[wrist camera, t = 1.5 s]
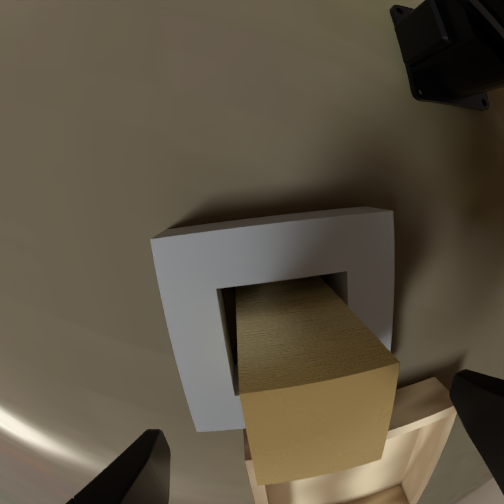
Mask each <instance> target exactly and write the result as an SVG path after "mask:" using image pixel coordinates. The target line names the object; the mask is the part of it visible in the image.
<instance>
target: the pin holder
mask: <svg viewBox="0 0 504 504" xmlns="http://www.w3.org/2000/svg"><path fill="white" fill-rule="evenodd" d="M150 240H151V246H152V252H153V258H154V263H155V269H156V274H157V279H158V284H159V289H160V294H161V299H162V304H163V308H164V313H165V317H166V322H167V326H168V330H169V335H170V339H171V343H172V347H173V351H174V355H175V359H176V362H177V366H178V370H179V374H180V377H181V381H182V384H183V388H184V391H185V395H186V398H187V402H188V405H189V408H190V412H191V415H192V418H193V421H194V424H195V427H196V431H197V432H205V431H221V430H233V429H244V428H246V427H245V422H244V416H243V411H242V406H241V400H240V395H239V375H238V363H234V360H233V354H232V348H231V342H230V336H229V330H228V324H227V317H226V311H225V305H224V298H223V291H222V288H227V287H235V286H243V285H251V284H259V283H266V282H274V281H281V280H289V279H296V278H303V277H310V276H317V275H324V274H328V286H329V287H330V288H331V289H332V290H333V291H334V292H335V293H336V294H337V295H338V296H339V297H340V298H341V299H342V300H343V301H344V303H345V304H346V305H347V306H348V307H349V308H350V309H351V310H352V311H353V312H354V313H355V314H356V315H357V316H358V317H359V318H360V320H361V321H362V322H363V323H364V324H365V325H366V326H367V327H368V328H369V329H370V330H371V331H372V332H373V333H374V335H375V336H376V337H377V338H378V339H379V340H380V341H381V342H382V343H383V344H384V345H385V346H386V348H387V349H388V350H389V351H390V350H391V338H392V325H393V308H394V278H395V246H394V216H393V211H391V210H385V209H379V208H373V207H367V206H362V207H352V208H341V209H331V210H321V211H311V212H302V213H292V214H283V215H274V216H266V217H257V218H249V219H241V220H233V221H225V222H217V223H209V224H202V225H194V226H187V227H180V228H172V229H166V230H164V231H163V232H161V233H160V234H158V235H156V236H155V237H153V238H152V239H150Z"/></svg>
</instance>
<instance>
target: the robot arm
mask: <svg viewBox="0 0 504 504" xmlns="http://www.w3.org/2000/svg"><path fill="white" fill-rule="evenodd" d="M397 11H398V12H399V13H400V14H399V13H398V12H397ZM390 14H391V17H392V20H393V23H394V26H395V32H396V35H397V38H398V42H399V45H400V49H401V53H402V57H403V61H404V63H405V66H406V70H407V74H408V79H409V83H410V88H411V92H412V95H413V97H414V98H415V99H416V100H419V101H425V102H432V103H440V104H446V105H453V106H459V107H465V108H470V109H475V110H480V111H484V110H488V108H489V103H488V98H487V93H486V92H487V91H491V90H495V89H498V88H502V87H504V0H425V1H424V2H422V3H421V4H420V5H419V6H418V7H417V8H415V9H412V8H408V7H404V6H400V5H394V6H392V7H391V8H390ZM418 89H419V90H420V91H421V93H422V95H421V94H420V93H419V91H418ZM482 103H483V104H482ZM449 396H450V400H451V402H452V404H453V406H454V408H455V410H456V412H457V414H458V416H459V418H460V420H461V422H462V424H463V426H464V428H465V430H466V432H467V434H468V435H469V437H470V439H471V440H472V442H473V443H474V445H475V447H476V448H477V450H478V452H479V453H480V455H481V456H482V458H483V460H484V462H485V463H486V465H487V467H488V468H489V470H490V472H491V474H492V475H493V477H494V479H495V481H496V482H497V484H498V486H499V487H500V489H501V491H502V493H503V495H504V380H502V379H499V378H495V377H492V376H488V375H485V374H481V373H478V372H474V371H471V370H467V369H464V370H461V371H459V372H457V373H455V375H454V377H453V381H452V385H451V388H450V392H449ZM170 456H171V454H170V448H169V445H168V443H167V441H166V438H165V436H164V433H163V432H162V430H160V429H148V430H146V431H145V432H144V433H143V434H142V435H141V436H140V437H139V438H138V439H137V440H135V441H134V442H133V443H132V444H131V445H130V446H129V447H128V448H127V449H126V450H125V451H124V452H123V453H122V454H121V455H120V456H118V457H117V458H116V459H115V460H114V461H113V462H112V463H111V464H110V465H109V466H108V467H107V468H105V469H104V470H103V471H102V472H101V473H100V474H99V475H98V476H97V477H95V478H94V479H93V480H92V481H91V482H90V483H89V484H88V485H86V486H85V487H84V488H83V489H82V490H81V491H80V492H78V493H77V494H76V495H75V496H74V498H71V499H70V500H69V501H68V502H67V503H66V504H168V502H169V490H170Z"/></svg>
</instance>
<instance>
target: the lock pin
mask: <svg viewBox="0 0 504 504" xmlns="http://www.w3.org/2000/svg"><path fill="white" fill-rule="evenodd" d="M235 289H236V321H237V350H238V375H239V395H240V400H241V406H242V411H243V416H244V422H245V427H246V432H247V437H248V442H249V447H250V452H251V457H252V462H253V467H254V472H255V477H256V481H257V486H260V485H268V484H276V483H283V482H289V481H295V480H301V479H306V478H312V477H316V476H321V475H326V474H330V473H334V472H339V471H343V470H346V469H350V468H354V467H357V466H361V465H364V464H368V463H371V462H374V461H378V460H381V458H382V454H383V450H384V446H385V442H386V438H387V434H388V429H389V424H390V420H391V415H392V409H393V404H394V398H395V393H396V387H397V380H398V373H399V366H400V362H399V361H398V360H397V359H396V357H395V356H394V355H393V354H392V353H391V352H390V351H389V350H388V349H387V348H386V346H385V345H384V344H383V343H382V342H381V341H380V340H379V339H378V338H377V337H376V336H375V335H374V333H373V332H372V331H371V330H370V329H369V328H368V327H367V326H366V325H365V324H364V323H363V322H362V321H361V320H360V318H359V317H358V316H357V315H356V314H355V313H354V312H353V311H352V310H351V309H350V308H349V307H348V306H347V305H346V304H345V303H344V301H343V300H342V299H341V298H340V297H339V296H338V295H337V294H336V293H335V292H334V291H333V290H332V289H331V288H330V287H329V286H328V285H327V284H326V283H325V282H324V281H323V279H322V278H321V277H320V276H319V275H317V276H310V277H303V278H296V279H289V280H281V281H274V282H266V283H259V284H251V285H243V286H235Z"/></svg>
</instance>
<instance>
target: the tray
mask: <svg viewBox="0 0 504 504" xmlns="http://www.w3.org/2000/svg"><path fill="white" fill-rule="evenodd" d="M456 414H457V412H456V410H455V408H454V406H453V404H452V402H451V400H450V396H449V391H448V390H447V389H446V388H445V387H444V386H443V385H442V384H441V383H440V382H439V381H438V379H437V378H436V377H432V378H429V379H426V380H424V381H421V382H418V383H415V384H412V385H409V386H406V387H403V388H399V389H396V393H395V398H394V404H393V409H392V415H391V420H390V424H389V429H388V434H387V438H386V442H385V446H384V450H383V454H382V458H381V460H378V461H374V462H371V463H368V464H364V465H361V466H357V467H354V468H350V469H346V470H343V471H339V472H334V473H330V474H326V475H321V476H316V477H312V478H306V479H301V480H295V481H289V482H283V483H276V484H268V485H260V486H257V481H256V477H255V472H254V467H253V462H252V457H251V452H250V447H249V442H248V437H247V432H246V428H244V429H243V432H244V449H245V462H246V466H247V470H248V475H249V479H250V483H251V487H252V491H253V495H254V499H255V503H256V504H416V503H417V502H418V500H419V498H420V496H421V494H422V492H423V490H424V489H425V487H426V485H427V483H428V481H429V479H430V477H431V475H432V473H433V470H434V468H435V466H436V464H437V462H438V460H439V457H440V455H441V453H442V450H443V448H444V446H445V443H446V441H447V438H448V436H449V433H450V430H451V428H452V425H453V422H454V420H455V417H456Z"/></svg>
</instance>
